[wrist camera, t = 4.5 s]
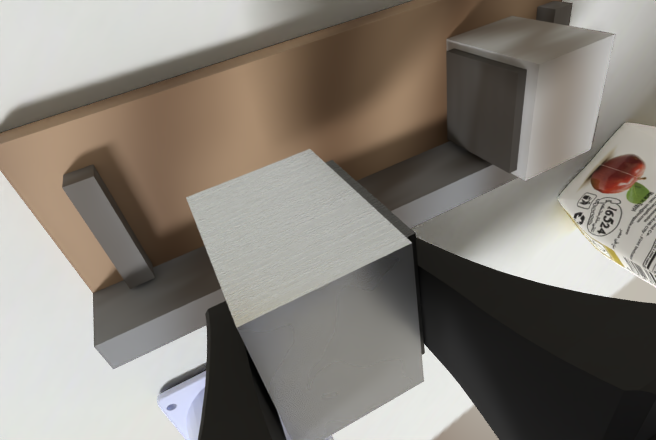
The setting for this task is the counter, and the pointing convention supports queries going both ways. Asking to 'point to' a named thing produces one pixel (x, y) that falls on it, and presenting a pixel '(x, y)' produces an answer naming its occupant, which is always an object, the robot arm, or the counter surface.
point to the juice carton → (619, 200)
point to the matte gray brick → (316, 289)
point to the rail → (304, 142)
